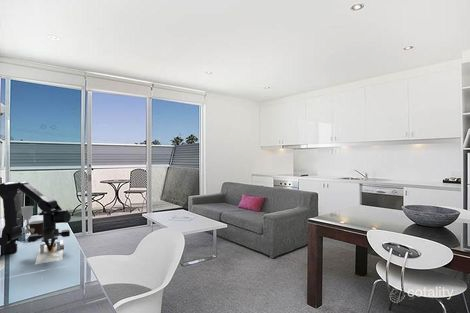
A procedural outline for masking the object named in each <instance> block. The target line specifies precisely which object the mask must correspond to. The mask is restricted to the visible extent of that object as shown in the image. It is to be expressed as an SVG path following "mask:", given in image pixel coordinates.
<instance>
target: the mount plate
mask: <svg viewBox="0 0 470 313" xmlns="http://www.w3.org/2000/svg"><path fill="white" fill-rule="evenodd" d="M60 244H64V239H60ZM36 256H37V257H36V260H35V263H34V266H35V265H41V264H46V263H51V262H52V263H53V262H57V261H62V260H63V259H64V258H63V256H64V249H60V250H57V243H56V247H54V251H53V252H49V253H48V248H47V245H44V253H40V247H39V249H38V252H37V255H36Z"/></svg>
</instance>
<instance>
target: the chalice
mask: <svg viewBox="0 0 470 313" xmlns="http://www.w3.org/2000/svg"><path fill="white" fill-rule="evenodd" d="M20 208H21V216H22V217H23V219H24V220H26V225H27V224H28V225H27V228H28V229H29V230H30V228H29V223H30V222H29V220H31V218H32V217H33V214H34V205H27V206H26V205H25V206H21V207H20ZM27 228H25V229H24V230H23V231H22V233H23V234H30V231H29V230H28V229H27Z"/></svg>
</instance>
